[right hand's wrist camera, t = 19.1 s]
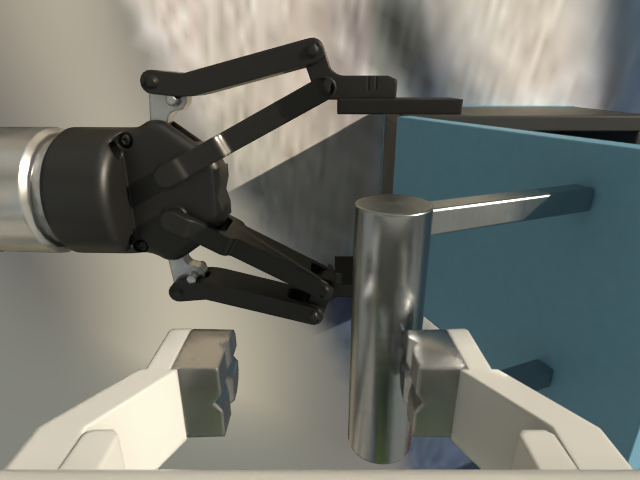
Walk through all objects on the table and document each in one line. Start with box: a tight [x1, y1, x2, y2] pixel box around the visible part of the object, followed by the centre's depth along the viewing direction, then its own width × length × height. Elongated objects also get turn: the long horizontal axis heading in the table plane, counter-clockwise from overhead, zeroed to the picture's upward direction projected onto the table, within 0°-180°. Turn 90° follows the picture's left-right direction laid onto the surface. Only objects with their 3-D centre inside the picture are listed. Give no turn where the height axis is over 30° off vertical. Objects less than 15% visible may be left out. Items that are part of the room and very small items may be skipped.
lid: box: [348, 116, 640, 470], centre depth 16 cm, size 14×9×8 cm
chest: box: [380, 106, 640, 194], centre depth 27 cm, size 13×9×9 cm
